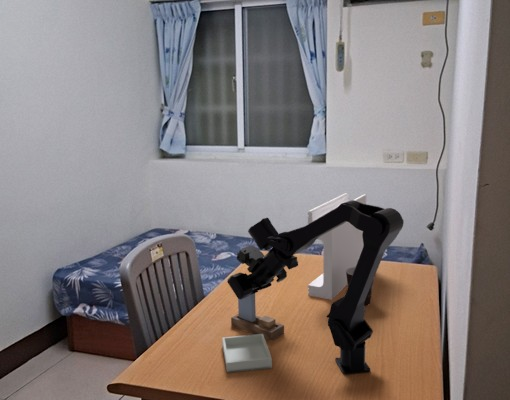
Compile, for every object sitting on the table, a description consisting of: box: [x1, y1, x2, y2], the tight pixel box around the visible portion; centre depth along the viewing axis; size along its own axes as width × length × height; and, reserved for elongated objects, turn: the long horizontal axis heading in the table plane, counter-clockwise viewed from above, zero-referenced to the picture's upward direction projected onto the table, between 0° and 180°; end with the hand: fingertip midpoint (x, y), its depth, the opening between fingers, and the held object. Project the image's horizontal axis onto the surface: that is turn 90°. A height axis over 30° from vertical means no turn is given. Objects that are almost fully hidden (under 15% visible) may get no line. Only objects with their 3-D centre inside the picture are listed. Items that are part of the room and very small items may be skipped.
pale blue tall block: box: [237, 293, 257, 322], centre depth 131 cm, size 5×2×10 cm, turn 49°
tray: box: [221, 334, 273, 374], centre depth 116 cm, size 13×11×2 cm
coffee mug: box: [346, 267, 375, 307], centre depth 145 cm, size 12×9×10 cm
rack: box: [230, 313, 285, 342], centre depth 130 cm, size 15×5×2 cm, turn 49°
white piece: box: [307, 192, 367, 301], centre depth 164 cm, size 35×8×28 cm, turn 150°
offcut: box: [259, 315, 277, 330], centre depth 127 cm, size 4×3×2 cm
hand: (243, 293), depth 132 cm, fingers closed on pale blue tall block, 2 cm apart
